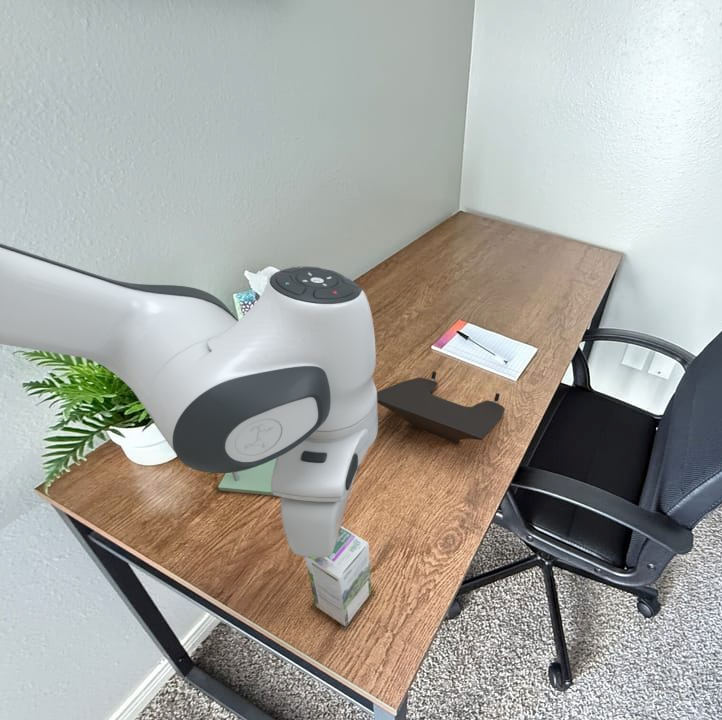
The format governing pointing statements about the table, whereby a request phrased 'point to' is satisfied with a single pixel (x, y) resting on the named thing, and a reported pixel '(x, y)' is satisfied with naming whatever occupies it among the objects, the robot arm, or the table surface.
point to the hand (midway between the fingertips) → (342, 501)
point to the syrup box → (341, 577)
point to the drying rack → (250, 480)
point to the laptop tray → (440, 411)
